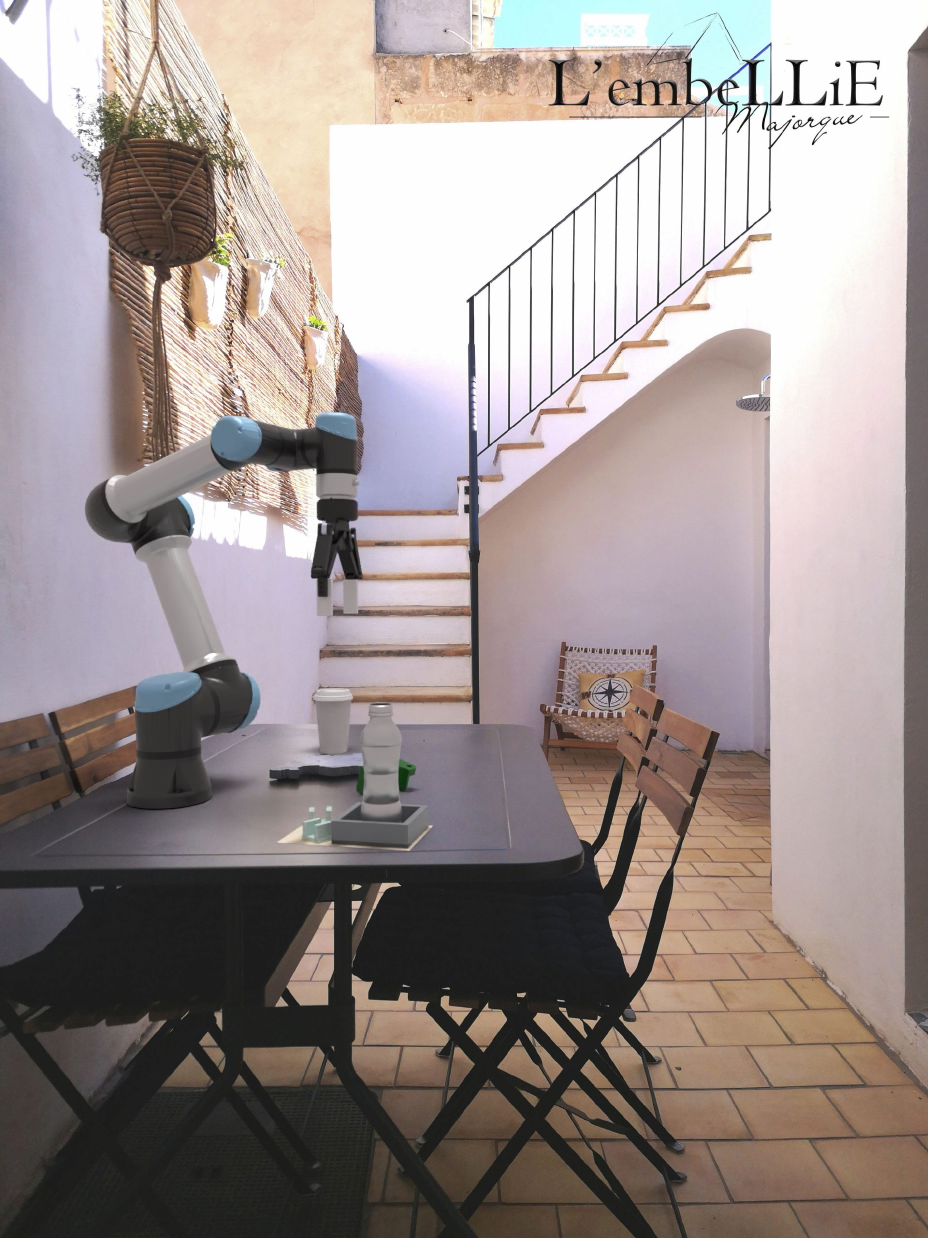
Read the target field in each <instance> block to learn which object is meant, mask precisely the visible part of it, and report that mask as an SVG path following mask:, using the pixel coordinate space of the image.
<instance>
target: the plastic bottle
mask: <svg viewBox="0 0 928 1238" xmlns="http://www.w3.org/2000/svg"><path fill="white" fill-rule="evenodd" d="M367 714H368V715H367V716H368V717H369V721H367V723H366V725H365V726H364V728H363V730H362V731H361V734H360V739H359V740H360V748H361V753H362V761H363V762H362V763H363V765H362V766H364V790H363V795H362V801H361V802H362V805H361V812H360V818H361V821H376V822H394V823H401V820H402V807H401V804H402V802H401V800H400V798H401V797H400V790H399V784H398V771H399V759H400V757H401V755H400V754H401V751H402V748H401V747H402V743H403V742H402V739H403V736H402V734H401V731H400V729H399V727H398V726H397V724H396V723H395V722H394V721H393V719H392V717H393V716H394V712H393V703H391V702H371V703H368V713H367Z"/></svg>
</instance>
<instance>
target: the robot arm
mask: <svg viewBox="0 0 928 1238" xmlns="http://www.w3.org/2000/svg"><path fill="white" fill-rule="evenodd" d="M358 441H359V438H358V431H357V419H356V418H355V416H353V415H352V414H348V413H347V412H346V413H345V412H336V411H335V412H334V411H333V412H330V411H329V412H321V413H320V414H317V415H316V417H315V423H314V426H313V427H309V428H298V429H295V428H293V429H292V428H288V427H283V426H279V425H276V424H270V423H267V422H263V421H259V420H255V419H251V418H249V417H246V416H240V415H238V416H236V415H225V416H222V417H221V418H219V419H218V420H217V422H216V423H215V424H214V426H212V429H211V432H210V434H209V435H207V436H205V437H203V438H201V439H198V440H197V441H195V442H192V443H191V444H188V445H186V446H185V447H182V448H181V449H178V450H177V451H175V452H173V453H170V454H169V455H167V456H166V455H165V456H164V457H162V458H160V459H159V460H157V461H154V462H152V463H150V464H149V465H146V466H144V467H143V468H140V469H138V470H137V471H134V472H132V473H130V474H128V475H123V474H116V475H113V476H111V477H110V478H107V479H106V480H104V481H102V482H100V483H99V484H97V485H96V486H95V487H93V489H92V490H91V491H90V492H89V494H88V495H87V497H86V499H85V503H84V514H85V515H84V516H85V518H86V519H85V520H86V521H87V523H88V525H89V527H90V528H91V529H92V531H93V532H94V533H95V534H96V535H98V536H99V537H101V538H103V539H104V540H106V541H109V542H113V543H114V542H115V543H121V544H122V543H123V544H124V543H125V544H130V545H131V547H132V550H133V553H134V555H135V558H136V559H137V560H138V561H140V562H142V563H145V565H146V566H147V569H148V571H149V575H150V577H151V580H152V582H153V586H154V589H155V592H156V594H157V597H158V600H159V602H160V605H161V608H162V611H163V614H164V616H165V619H166V623H167V625H168V627H169V629H170V633H171V636H172V638H173V641H174V642H173V643H174V645H175V647H176V650H177V653H178V655H179V657H180V661H181V664H182V666H183V670H182V671H179V672H171V673H163V674H159V675H158V674H156V675H154V676H149V677H147V678H144V679H143V680H141V681H140V682H139V683H138V684H137V686H136V688H135V700H134V715H135V718H134V719H135V752H136V753H135V754H136V758H135V759H136V760H135V765H134V767H133V770H132V774H131V777H130V780H129V784H128V787H127V789H126V790H127V792H126V803H127V805H129V806H130V807H132V808H133V807H134V808H137V809H138V808H139V809H150V810H152V809H153V810H155V809H156V810H157V809H158V810H159V809H175V808H183V807H189V806H194V805H198V804H202V803H204V802H207V801H209V800H210V799H211V798H212V795H213V793H212V789H213V787H212V783H211V779H210V777H209V775H208V772H207V768H206V766H205V763H204V761H203V757H202V738H208V737H213V736H216V735H222V734H230V733H233V732H236V731H238V730H242V729H244V728H247V727H248V726H250V724H251V723H252V722H254V720H255V719H256V717H257V715H258V711H259V709H260V706H261V691H260V687H259V684H258V683H257V680H255V678H254V677H253V676H251V675H249V674H248V673H246V672H242V671H241V670H240V668H239V664H238V662H237V660H236V658H235V657H233V656H230V655H228V654H226V652H225V649H224V647H223V644H222V640H221V638H220V635H219V632H218V630H217V627H216V625H215V622H214V619H213V616H212V613H211V611H210V608H209V606H208V603H207V601H206V596H205V594H204V591H203V590H202V586H201V584H200V581H199V578H198V575H197V573H196V570H195V568H194V565H193V562H192V560H191V557H190V554H189V551H188V550H189V549H190V547H191V545H192V542H193V541H192V536H193V534H194V531H195V528H194V527H193V526H195V524H196V521H195V520H196V519H195V513H194V511H193V508H192V506H191V505H190V503H189V502H188V500H187V499H186V498H185V497H184V496H183V495H186V494H188V493H190V492H192V491H195V490H196V489H199V488H200V487H203V486H205V485H207V484H209V483H212V482H214V481H215V480H218V479H220V478H221V477H224V476H226V475H228V474H230V473H233V472H236V471H238V470H240V469H242V468H244V467H247V466H249V465H252V464H253V465H259V466H264V467H266V469H268V470H269V471H270V472H284V473H288V472H289V473H290V472H291V471H303V470H313V469H315V470H316V475H315V478H316V479H315V480H316V481H315V486H316V490H315V492H316V493H315V495H316V497H317V498H319V499H318V500H317V502H316V519H317V520H318V521H320V522H321V523H320V522H318V523H317V531H316V533H317V536H316V541H315V546H314V553H313V556H312V557H313V558H312V563H311V568H310V578H311V579H314V580H315V579H316V616H317V617H333V616H334V615H333V614H334V606H333V604H334V601H333V597H334V596H333V591H334V590H333V589H334V587H333V582H334V581H333V578H331V575H332V571H333V568H334V565H335V562H336V558H337V555H338V557H339V558H338V559H339V561H340V565H341V567H342V569H341V570H342V571H343V575H344V577H345V578H344V579H343V581H342V582H343V583H342V584H343V585H342V587H343V588H342V590H343V591H342V592H343V597H342V598H343V599H342V600H343V614H348V615H350V614H353V615H354V614H357V615H358V614H359V580H363V578H364V577H363V575H364V574H363V570H362V563H361V560H360V553H359V547H358V541H357V530H356V529H357V528H356V527H350V522H355V521H358V518H359V502H358V501H357V500H356V498H357V497H358V486H360V485H361V483H360V480H358Z"/></svg>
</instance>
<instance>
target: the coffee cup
mask: <svg viewBox="0 0 928 1238" xmlns="http://www.w3.org/2000/svg"><path fill="white" fill-rule="evenodd" d="M313 700H314V701H315V703H314V704H315V711H316V720H317V721H316V722H317V731H318V742H319V752H320V754H324V755H342V754H346V753H347V752H348V748H349V747H348V746H349V745H348V744H349V735H350V733H349V732H350V721H351V720H350V718H351V707H352V700H354V697H353V694H352V693H351V690H350V689H348V688H338V687H337V688H334V687H333V688H332V687H331V688H321V689H317V690H316V692H315V694H314V695H313Z"/></svg>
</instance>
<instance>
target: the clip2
mask: <svg viewBox="0 0 928 1238" xmlns="http://www.w3.org/2000/svg"><path fill="white" fill-rule="evenodd" d="M321 819H322V818H320V817H315V819H311V820H309V819H308V820H304V821H302V825H303V835H302V839H304V840H308V841H311V842H314V843H318V844H319V843H323V842H326V841H330V840H332V838H331V821H327V822H323V823H321Z"/></svg>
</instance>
